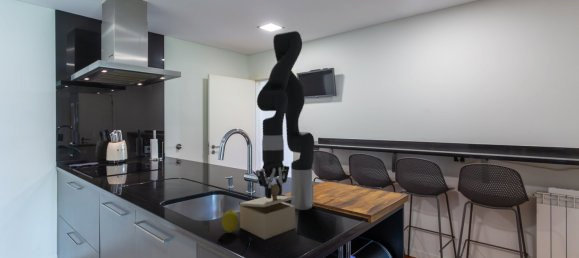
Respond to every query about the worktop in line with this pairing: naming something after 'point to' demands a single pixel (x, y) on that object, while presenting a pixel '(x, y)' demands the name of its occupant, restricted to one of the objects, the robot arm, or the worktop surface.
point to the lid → (267, 202)
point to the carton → (267, 219)
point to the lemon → (230, 221)
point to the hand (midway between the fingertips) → (273, 196)
